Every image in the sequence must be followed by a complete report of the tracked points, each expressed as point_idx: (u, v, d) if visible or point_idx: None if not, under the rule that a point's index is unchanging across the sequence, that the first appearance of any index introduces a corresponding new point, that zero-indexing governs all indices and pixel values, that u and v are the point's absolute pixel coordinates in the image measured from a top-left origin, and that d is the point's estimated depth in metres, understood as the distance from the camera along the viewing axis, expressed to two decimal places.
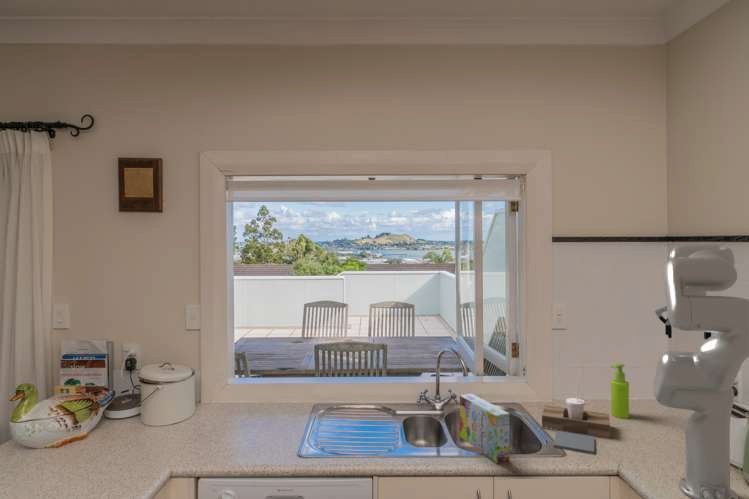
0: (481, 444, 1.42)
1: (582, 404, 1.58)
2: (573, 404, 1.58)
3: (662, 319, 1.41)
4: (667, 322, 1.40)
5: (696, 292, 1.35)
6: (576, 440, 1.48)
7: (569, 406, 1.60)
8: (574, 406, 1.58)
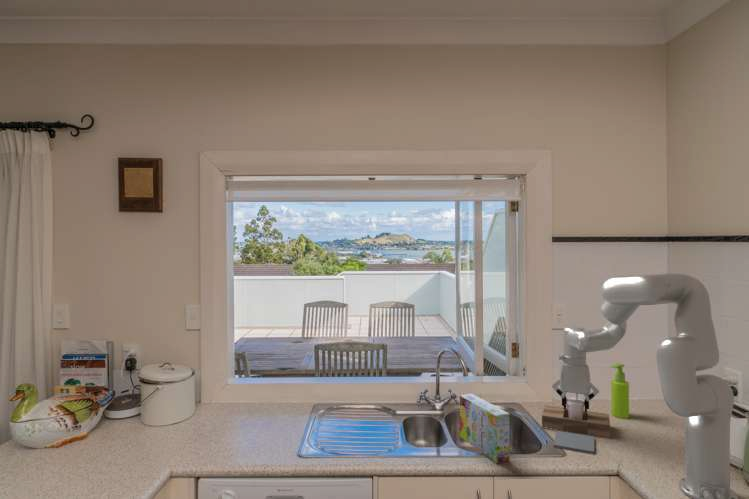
0: (481, 444, 1.42)
1: (582, 404, 1.58)
2: (573, 404, 1.58)
3: (558, 392, 1.62)
4: (562, 395, 1.61)
5: (580, 369, 1.57)
6: (576, 440, 1.48)
7: (569, 406, 1.60)
8: (574, 406, 1.58)
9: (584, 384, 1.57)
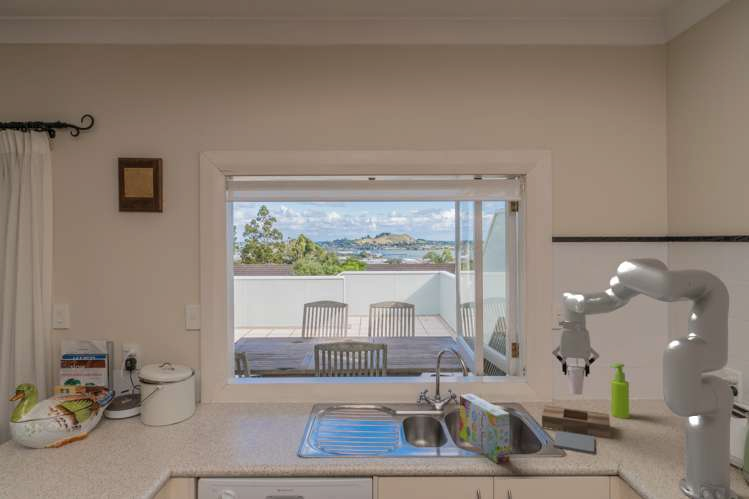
0: (481, 444, 1.42)
1: (582, 369, 1.57)
2: (573, 369, 1.58)
3: (559, 358, 1.62)
4: (562, 361, 1.61)
5: (580, 333, 1.57)
6: (576, 440, 1.48)
7: (569, 371, 1.59)
8: (574, 371, 1.58)
9: (584, 348, 1.56)
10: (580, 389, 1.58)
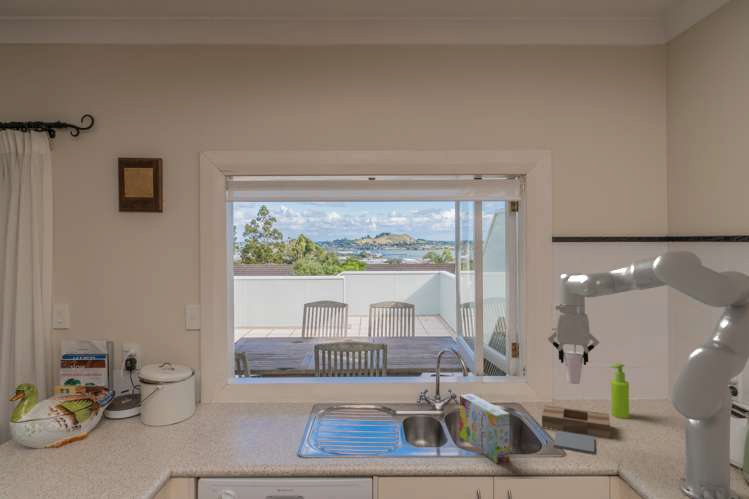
0: (481, 444, 1.42)
1: (581, 356, 1.45)
2: (571, 356, 1.45)
3: (555, 345, 1.49)
4: (559, 348, 1.49)
5: (578, 317, 1.44)
6: (576, 440, 1.48)
7: (567, 359, 1.47)
8: (572, 358, 1.45)
9: (583, 334, 1.44)
10: (578, 378, 1.46)
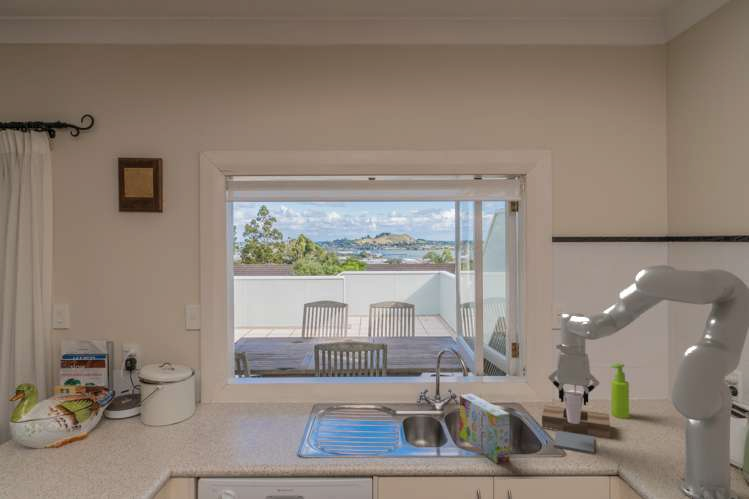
0: (481, 444, 1.42)
1: (581, 397, 1.45)
2: (571, 396, 1.46)
3: (555, 384, 1.50)
4: (559, 387, 1.49)
5: (579, 358, 1.45)
6: (576, 440, 1.48)
7: (567, 399, 1.47)
8: (572, 399, 1.46)
9: (583, 375, 1.44)
10: (578, 418, 1.46)
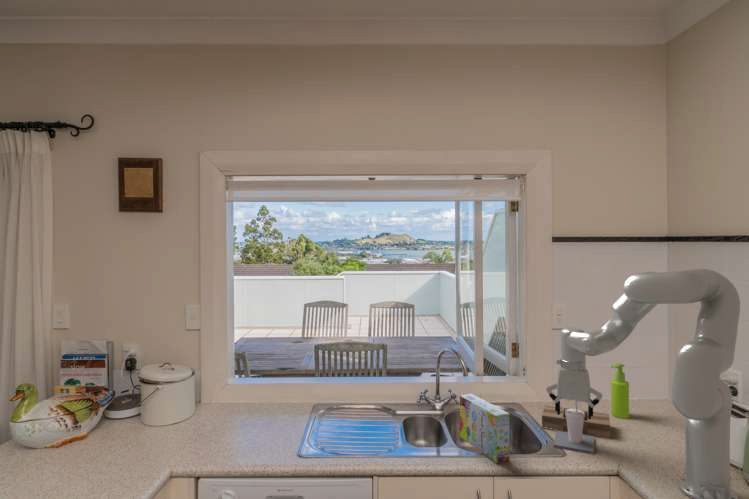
0: (481, 444, 1.42)
1: (582, 416, 1.45)
2: (572, 416, 1.45)
3: (552, 396, 1.50)
4: (556, 400, 1.49)
5: (579, 374, 1.45)
6: None
7: (568, 418, 1.47)
8: (573, 418, 1.45)
9: (583, 391, 1.44)
10: (579, 437, 1.46)
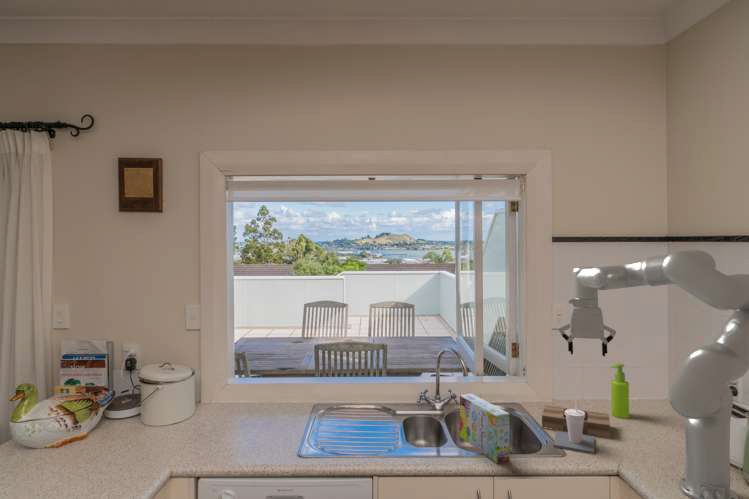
0: (481, 444, 1.42)
1: (582, 416, 1.45)
2: (572, 416, 1.45)
3: (564, 336, 1.49)
4: (569, 339, 1.48)
5: (592, 311, 1.44)
6: None
7: (568, 418, 1.47)
8: (574, 418, 1.45)
9: (597, 327, 1.43)
10: (579, 437, 1.46)
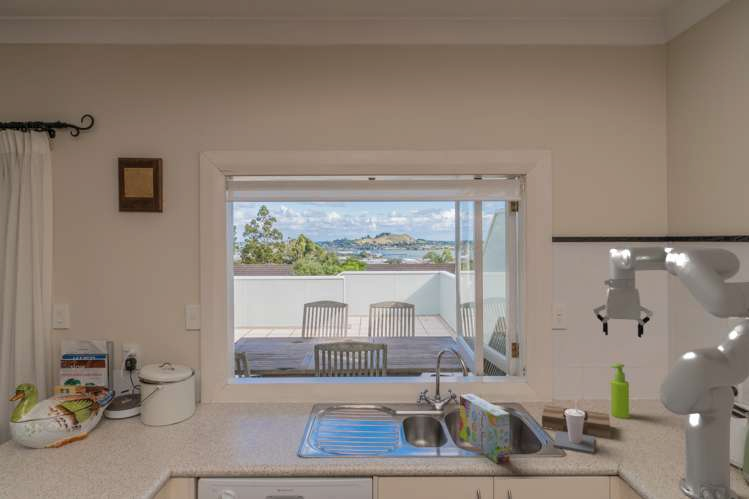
0: (481, 444, 1.42)
1: (582, 416, 1.45)
2: (572, 416, 1.45)
3: (599, 317, 1.49)
4: (604, 320, 1.48)
5: (629, 292, 1.43)
6: None
7: (568, 418, 1.47)
8: (574, 418, 1.45)
9: (634, 308, 1.43)
10: (579, 437, 1.46)
